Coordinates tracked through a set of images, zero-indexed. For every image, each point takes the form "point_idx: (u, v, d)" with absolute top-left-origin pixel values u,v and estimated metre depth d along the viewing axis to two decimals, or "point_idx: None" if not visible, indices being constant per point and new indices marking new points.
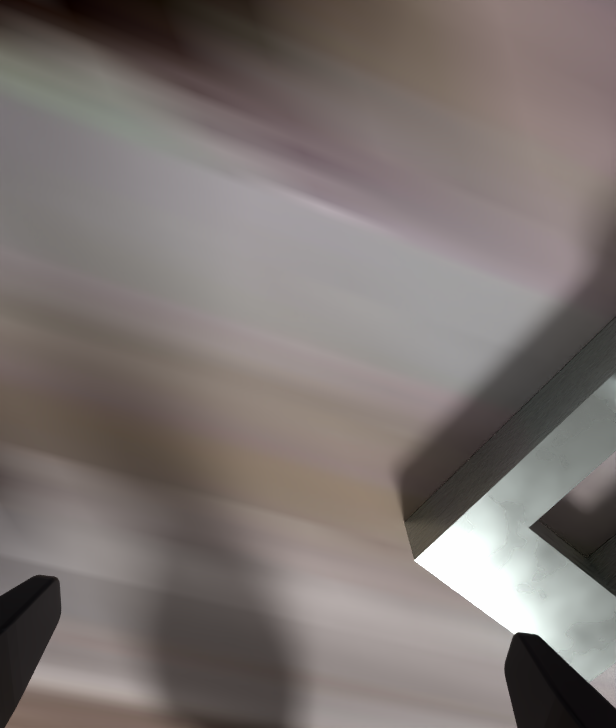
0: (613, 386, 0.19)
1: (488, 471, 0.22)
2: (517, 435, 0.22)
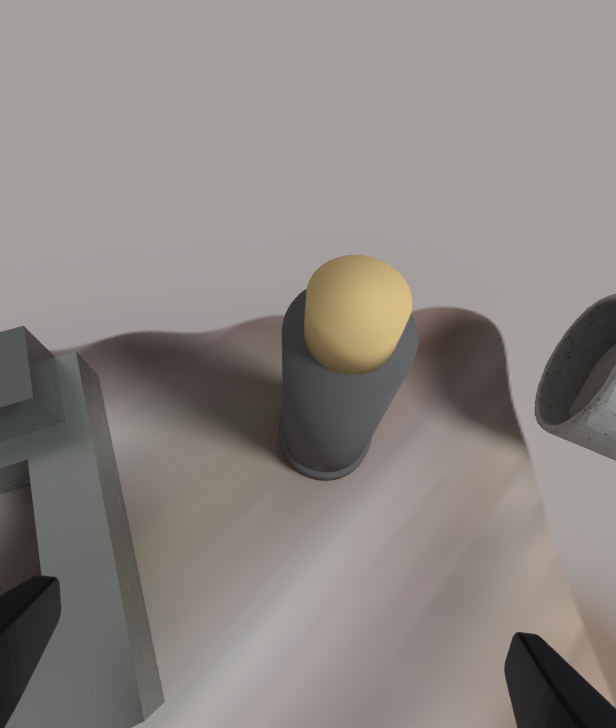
0: None
1: None
2: None
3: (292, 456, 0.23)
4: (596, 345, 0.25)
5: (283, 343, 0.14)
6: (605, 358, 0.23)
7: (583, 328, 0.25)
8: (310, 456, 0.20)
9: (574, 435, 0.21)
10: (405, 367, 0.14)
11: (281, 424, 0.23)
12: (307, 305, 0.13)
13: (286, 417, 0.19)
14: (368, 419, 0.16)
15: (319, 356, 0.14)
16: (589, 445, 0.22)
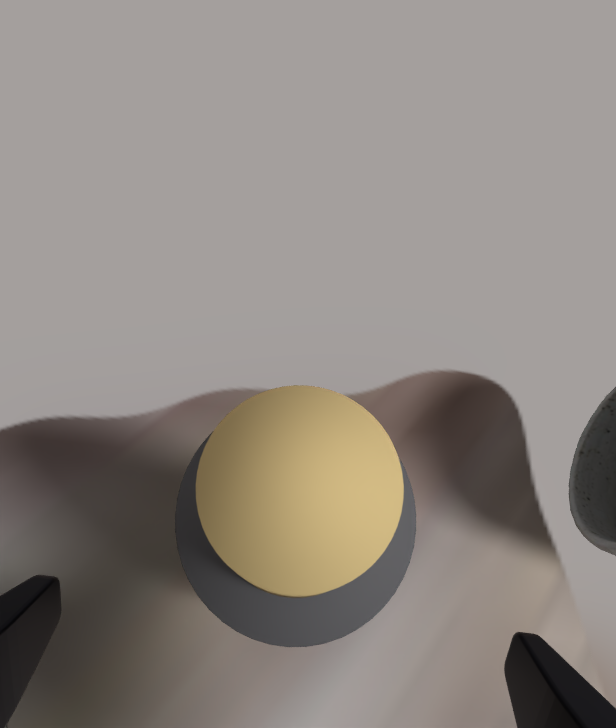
0: None
1: None
2: None
3: None
4: None
5: (177, 532, 0.08)
6: None
7: None
8: None
9: None
10: (395, 575, 0.08)
11: None
12: (198, 501, 0.06)
13: None
14: None
15: None
16: None
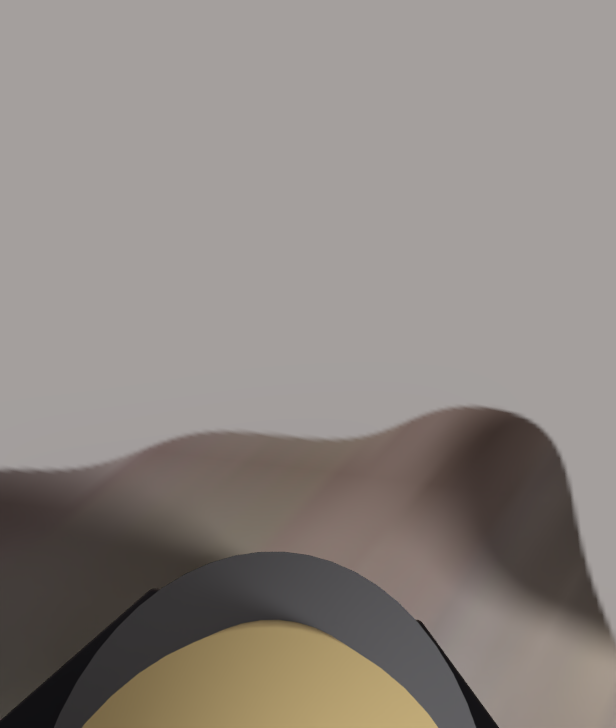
0: None
1: None
2: None
3: None
4: None
5: None
6: None
7: None
8: None
9: None
10: None
11: None
12: None
13: None
14: None
15: None
16: None
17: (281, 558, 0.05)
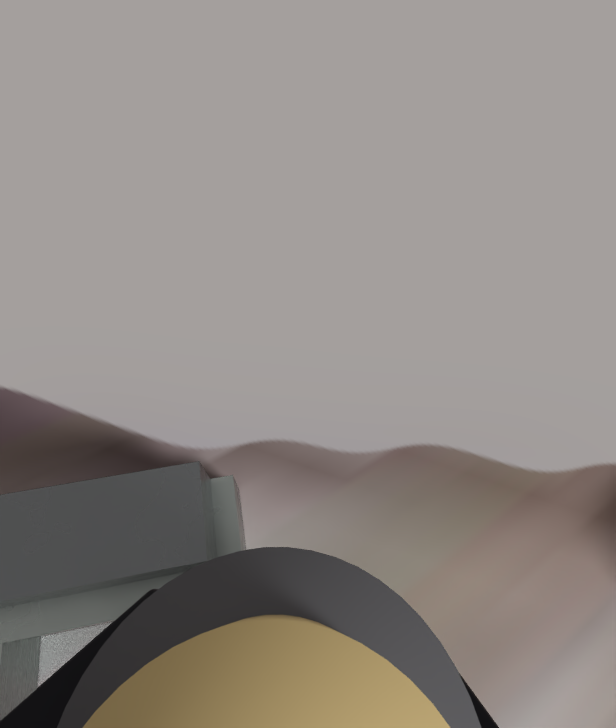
0: None
1: None
2: None
3: None
4: None
5: None
6: None
7: None
8: None
9: None
10: None
11: None
12: None
13: None
14: None
15: None
16: None
17: (285, 553, 0.05)
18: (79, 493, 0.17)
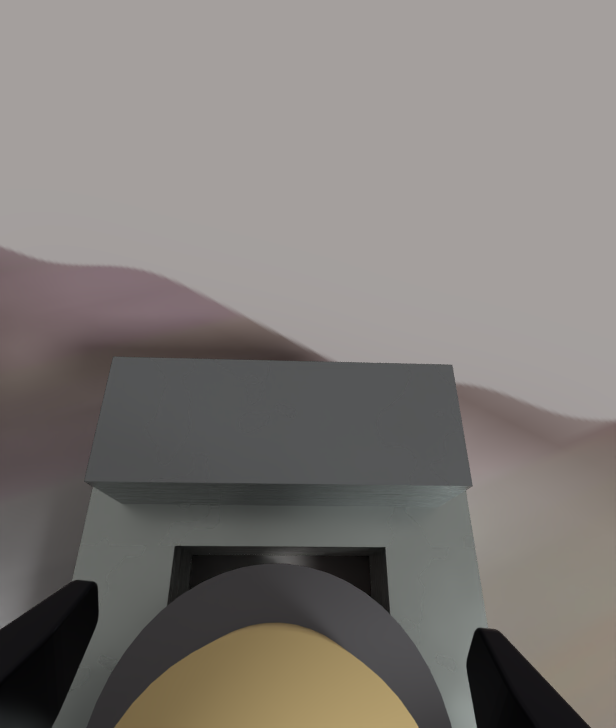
0: (99, 519, 0.14)
1: None
2: None
3: None
4: None
5: None
6: None
7: None
8: None
9: None
10: None
11: None
12: None
13: None
14: None
15: None
16: None
17: (283, 569, 0.06)
18: (304, 374, 0.13)
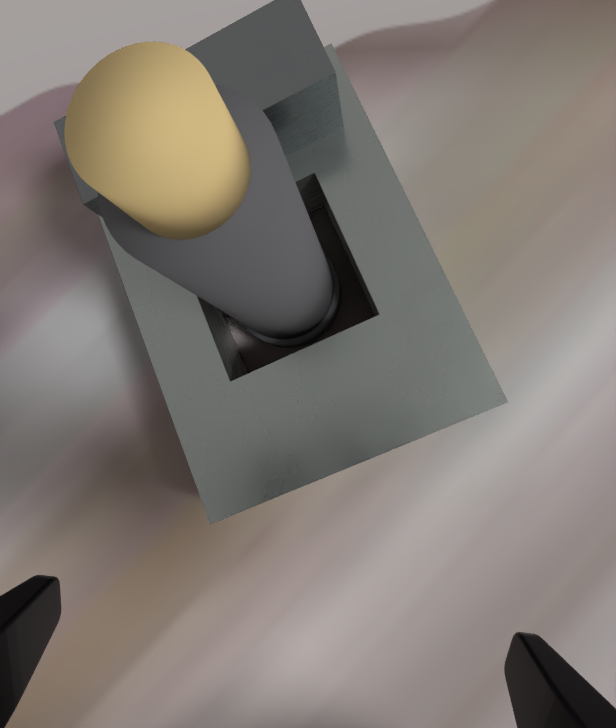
0: (121, 251, 0.19)
1: None
2: None
3: (262, 335, 0.20)
4: None
5: (113, 235, 0.10)
6: None
7: None
8: (271, 330, 0.17)
9: None
10: (274, 184, 0.10)
11: None
12: (78, 172, 0.08)
13: None
14: (283, 269, 0.12)
15: (155, 230, 0.10)
16: None
17: None
18: None
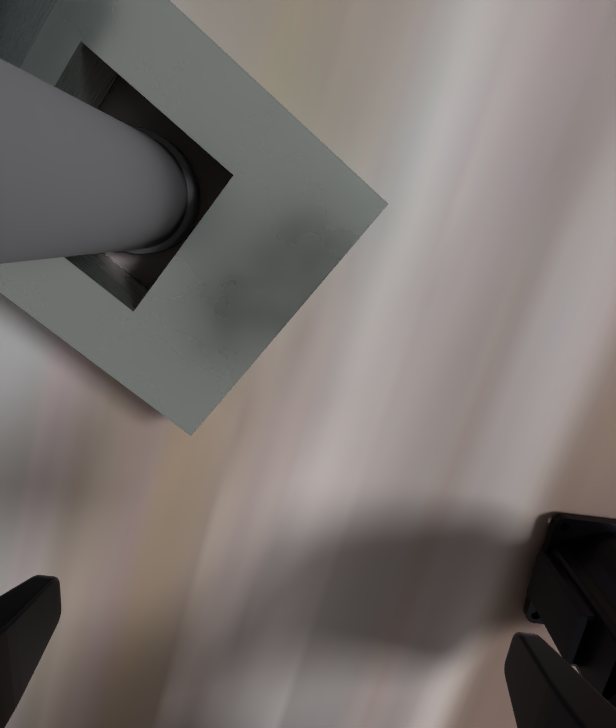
0: None
1: None
2: None
3: (140, 249, 0.19)
4: None
5: None
6: None
7: None
8: (141, 244, 0.16)
9: None
10: (12, 116, 0.08)
11: None
12: None
13: None
14: (97, 191, 0.11)
15: None
16: None
17: None
18: None
